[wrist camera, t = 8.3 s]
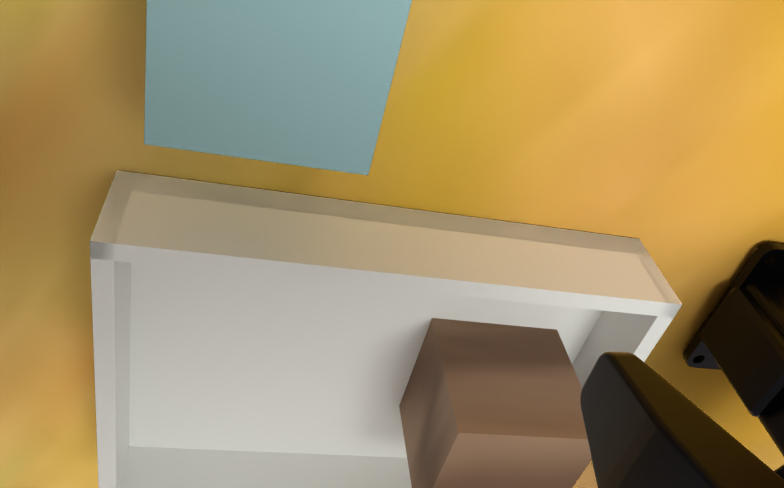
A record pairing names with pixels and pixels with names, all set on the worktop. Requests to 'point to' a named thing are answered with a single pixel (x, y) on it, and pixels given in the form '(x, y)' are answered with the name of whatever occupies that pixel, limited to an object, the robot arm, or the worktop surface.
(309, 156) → the teal block
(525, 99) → the worktop surface
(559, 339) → the walnut block
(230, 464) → the tray
